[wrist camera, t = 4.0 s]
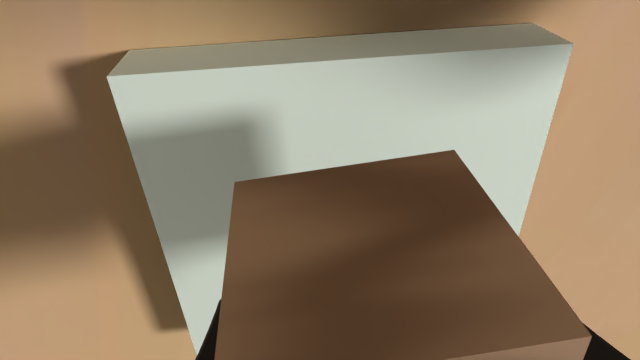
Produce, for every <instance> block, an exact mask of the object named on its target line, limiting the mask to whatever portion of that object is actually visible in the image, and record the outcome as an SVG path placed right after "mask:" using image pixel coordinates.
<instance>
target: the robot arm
mask: <svg viewBox="0 0 640 360" xmlns="http://www.w3.org/2000/svg"><path fill="white" fill-rule="evenodd" d="M220 306H221V299H220V300H219V303H218V305H217V308H216V311H215V314H214V316H213V319H212V321H211V324H210V326H209V329H208V331H207V334H206V336H205V339H204V341H203V343H202V346H201V348H200V350H199V353H198V355H197V357H196V359H195V360H214V359H215V350H216V341H217V333H218V324H219V315H220ZM583 325H584V326H585V327H586V329H587V330H588V331H589V333H590V334H591V335H592V338H591V340H590V343H589V345H588V348H587V351H586V353H585V356H584V359H583V360H630V359H629V358H627V357H626V356H625V355H623V354H622V353H621V352H619V351H618V350H617V349H615V348H614V347H613V346H611V345H610V344H609V343H607V342H606V341H605V340H604V339H602V338H601V337H600V336H598V335H597V334H596V333H595V332H593V331H592V330H591V329H590V328H588V327H587V326H586V325H585V324H583Z"/></svg>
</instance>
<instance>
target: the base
mask: <svg viewBox="0 0 640 360" xmlns="http://www.w3.org/2000/svg"><path fill="white" fill-rule="evenodd" d="M572 47H573V43H571V42H569V41H567V40H565V39H563V38H561V37H559V36H557V35H555V34H553V33H551V32H549V31H547V30H545V29H543V28H541V27H539V26H537V25H535V24H533V23H525V24H510V25H495V26H480V27H466V28H451V29H436V30H421V31H406V32H391V33H376V34H361V35H346V36H331V37H317V38H302V39H287V40H272V41H257V42H242V43H227V44H212V45H197V46H182V47H167V48H153V49H138V50H129V51H128V52H127V54H126V55H125V56H124V57H123V58H122V59H121V60H120V62H119V63H118V64H117V65H116V66H115V67H114V68H113V70H112V71H111V72H110V73H109V74H108V75H107V79H108V82H109V85H110V89H111V92H112V95H113V98H114V101H115V104H116V107H117V110H118V113H119V116H120V119H121V123H122V126H123V129H124V132H125V135H126V138H127V141H128V144H129V147H130V150H131V153H132V157H133V160H134V163H135V166H136V169H137V172H138V175H139V178H140V181H141V184H142V187H143V191H144V194H145V197H146V200H147V203H148V206H149V209H150V212H151V215H152V218H153V221H154V224H155V228H156V231H157V234H158V237H159V240H160V243H161V246H162V249H163V252H164V255H165V258H166V262H167V265H168V268H169V271H170V274H171V277H172V280H173V283H174V286H175V289H176V292H177V296H178V299H179V302H180V305H181V308H182V311H183V314H184V317H185V320H186V323H187V326H188V330H189V333H190V336H191V339H192V342H193V345H194V348H195V351H196V354H197V355H198V353H199V350H200V348H201V346H202V343H203V341H204V339H205V336H206V334H207V331H208V329H209V326H210V324H211V321H212V319H213V316H214V314H215V311H216V308H217V305H218V303H219V300H220V299H221V297H222V288H223V279H224V270H225V262H226V253H227V244H228V235H229V226H230V217H231V208H232V199H233V190H234V182H238V181H244V180H251V179H258V178H265V177H272V176H278V175H285V174H292V173H299V172H306V171H312V170H319V169H326V168H333V167H340V166H346V165H353V164H360V163H367V162H374V161H380V160H387V159H394V158H401V157H408V156H415V155H421V154H428V153H435V152H442V151H449V150H455V151H456V153H457V154H458V155H459V157H460V158H461V160H462V161H463V162H464V164H465V165H466V166H467V168H468V169H469V170H470V172H471V173H472V174H473V176H474V177H475V178H476V180H477V181H478V183H479V184H480V185H481V187H482V188H483V189H484V191H485V192H486V193H487V195H488V196H489V197H490V199H491V200H492V201H493V203H494V204H495V206H496V207H497V208H498V210H499V211H500V212H501V214H502V215H503V216H504V218H505V219H506V220H507V222H508V223H509V224H510V226H511V227H512V229H513V230H514V231H515V233H516V234H517V235H518V236H519V233H520V229H521V226H522V222H523V219H524V215H525V212H526V208H527V205H528V201H529V198H530V194H531V191H532V187H533V184H534V180H535V177H536V173H537V170H538V166H539V163H540V159H541V156H542V152H543V149H544V145H545V142H546V138H547V135H548V131H549V128H550V124H551V121H552V117H553V114H554V110H555V107H556V103H557V100H558V96H559V93H560V89H561V86H562V82H563V79H564V75H565V72H566V68H567V65H568V61H569V58H570V54H571V51H572Z"/></svg>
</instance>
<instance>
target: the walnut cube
mask: <svg viewBox="0 0 640 360" xmlns="http://www.w3.org/2000/svg"><path fill="white" fill-rule="evenodd" d="M591 338H592V335H591V334H590V333H589V331H588V330H587V329H586V327H585V326H584V325H583V323H582V322H581V321H580V319H579V318H578V317H577V315H576V314H575V312H574V311H573V310H572V308H571V307H570V306H569V304H568V303H567V302H566V300H565V299H564V298H563V296H562V295H561V294H560V292H559V291H558V289H557V288H556V287H555V285H554V284H553V283H552V281H551V280H550V279H549V277H548V276H547V275H546V273H545V272H544V271H543V269H542V268H541V266H540V265H539V264H538V262H537V261H536V260H535V258H534V257H533V256H532V254H531V253H530V252H529V250H528V249H527V248H526V246H525V245H524V243H523V242H522V241H521V239H520V238H519V237H518V235H517V234H516V233H515V231H514V230H513V229H512V227H511V226H510V224H509V223H508V222H507V220H506V219H505V218H504V216H503V215H502V214H501V212H500V211H499V210H498V208H497V207H496V206H495V204H494V203H493V201H492V200H491V199H490V197H489V196H488V195H487V193H486V192H485V191H484V189H483V188H482V187H481V185H480V184H479V183H478V181H477V180H476V178H475V177H474V176H473V174H472V173H471V172H470V170H469V169H468V168H467V166H466V165H465V164H464V162H463V161H462V160H461V158H460V157H459V155H458V154H457V153H456V151H455V150H449V151H442V152H435V153H428V154H421V155H415V156H408V157H401V158H394V159H387V160H380V161H374V162H367V163H360V164H353V165H346V166H340V167H333V168H326V169H319V170H312V171H306V172H299V173H292V174H285V175H278V176H272V177H265V178H258V179H251V180H244V181H238V182H234V190H233V199H232V208H231V217H230V226H229V235H228V244H227V253H226V262H225V270H224V279H223V288H222V297H221V306H220V315H219V324H218V333H217V341H216V350H215V359H214V360H583V359H584V356H585V353H586V351H587V348H588V345H589V343H590V340H591Z"/></svg>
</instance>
